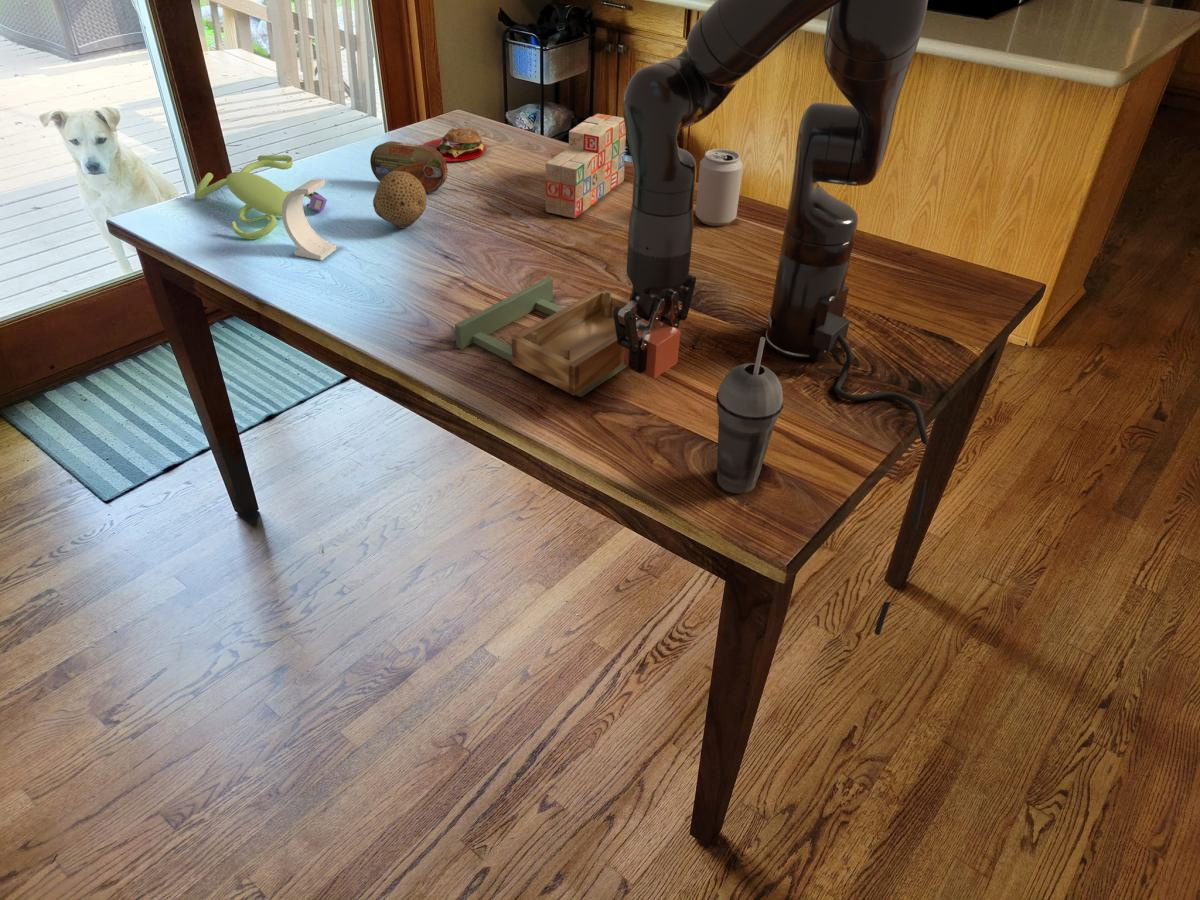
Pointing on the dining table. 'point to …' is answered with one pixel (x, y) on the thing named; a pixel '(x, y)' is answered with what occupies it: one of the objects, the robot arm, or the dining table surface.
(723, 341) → the dining table surface
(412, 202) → the natural sponge
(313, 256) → the headphone stand
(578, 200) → the stack of blocks
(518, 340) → the open box
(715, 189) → the can
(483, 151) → the hamburger
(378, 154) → the tin
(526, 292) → the green rectangular frame
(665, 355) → the block
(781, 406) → the beverage cup
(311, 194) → the figurine
